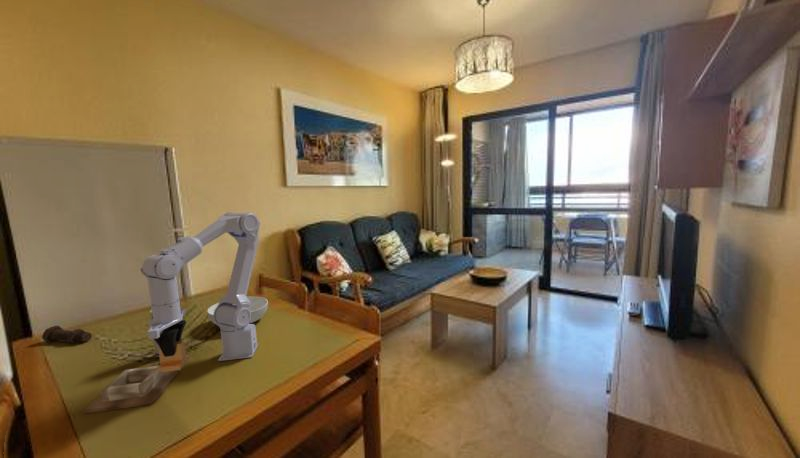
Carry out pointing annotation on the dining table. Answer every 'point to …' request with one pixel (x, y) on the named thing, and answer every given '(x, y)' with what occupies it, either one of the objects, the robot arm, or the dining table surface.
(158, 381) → the well block
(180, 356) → the wooden stepped block
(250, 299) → the serving bowl
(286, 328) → the dining table surface
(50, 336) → the bolt
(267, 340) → the dining table surface
